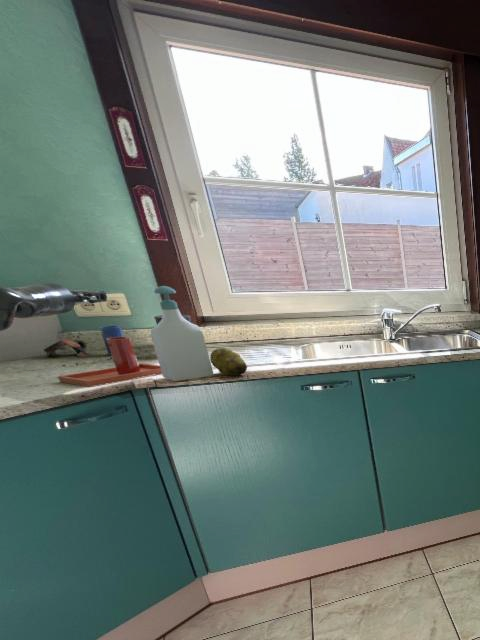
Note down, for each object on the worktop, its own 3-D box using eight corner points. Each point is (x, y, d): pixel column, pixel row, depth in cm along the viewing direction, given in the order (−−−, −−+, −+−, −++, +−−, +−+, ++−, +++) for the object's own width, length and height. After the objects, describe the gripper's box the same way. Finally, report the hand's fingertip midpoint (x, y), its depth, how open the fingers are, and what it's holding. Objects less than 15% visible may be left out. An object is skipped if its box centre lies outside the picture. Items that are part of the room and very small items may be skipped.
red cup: (120, 376, 151) (108, 340, 147) (115, 373, 154) (103, 338, 150) (143, 373, 156) (132, 338, 151) (138, 370, 158) (127, 336, 154)
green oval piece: (218, 379, 154) (212, 353, 151) (212, 371, 162) (206, 347, 159) (250, 375, 159) (244, 351, 156) (242, 368, 168) (236, 345, 165)
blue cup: (116, 359, 174) (105, 328, 170) (106, 358, 176) (95, 327, 172) (134, 357, 179) (124, 326, 175) (123, 355, 180) (113, 325, 176)
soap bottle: (202, 371, 162) (178, 284, 152) (213, 375, 158) (190, 286, 148) (161, 377, 153) (133, 285, 143) (172, 381, 149) (144, 287, 139)
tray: (90, 386, 141) (88, 381, 140) (60, 381, 145) (57, 376, 144) (171, 372, 160) (170, 366, 160) (143, 368, 164) (141, 363, 163)
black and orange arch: (79, 363, 169) (54, 343, 164) (58, 374, 171) (33, 354, 166) (102, 348, 179) (79, 329, 174) (83, 358, 180) (60, 340, 175)
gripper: (74, 285, 125) (112, 281, 139) (2, 283, 121) (48, 280, 135) (84, 315, 128) (120, 308, 142) (14, 314, 124) (58, 307, 138)
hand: (85, 294), depth 139 cm, fingers open, 8 cm apart
